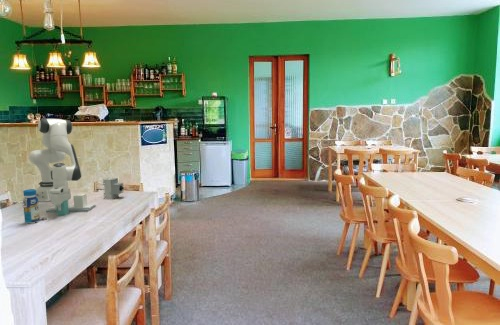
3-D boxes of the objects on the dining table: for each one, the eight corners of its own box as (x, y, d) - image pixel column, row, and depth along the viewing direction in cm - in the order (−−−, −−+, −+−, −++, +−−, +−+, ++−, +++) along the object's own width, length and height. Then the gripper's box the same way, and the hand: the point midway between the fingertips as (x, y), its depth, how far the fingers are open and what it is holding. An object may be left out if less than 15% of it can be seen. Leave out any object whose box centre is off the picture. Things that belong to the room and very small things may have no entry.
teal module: (57, 215, 258) (56, 202, 257) (61, 213, 264) (60, 200, 263) (65, 215, 258) (63, 201, 257) (68, 213, 264) (67, 199, 263)
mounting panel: (46, 212, 267) (44, 197, 265) (55, 207, 281) (54, 193, 279) (88, 211, 267) (86, 196, 266) (95, 206, 281) (94, 192, 280)
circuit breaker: (120, 199, 303) (119, 179, 301) (104, 198, 306) (102, 179, 304) (125, 197, 310) (124, 178, 308) (109, 196, 313) (108, 177, 311)
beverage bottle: (25, 221, 246) (22, 189, 243) (40, 219, 249) (38, 188, 247) (23, 224, 238) (20, 192, 236) (39, 222, 242) (36, 190, 239)
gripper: (63, 185, 269) (64, 205, 271) (48, 191, 249) (50, 213, 251) (72, 185, 269) (74, 205, 271) (58, 191, 249) (60, 212, 251)
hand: (62, 208), depth 261 cm, fingers closed on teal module, 5 cm apart
